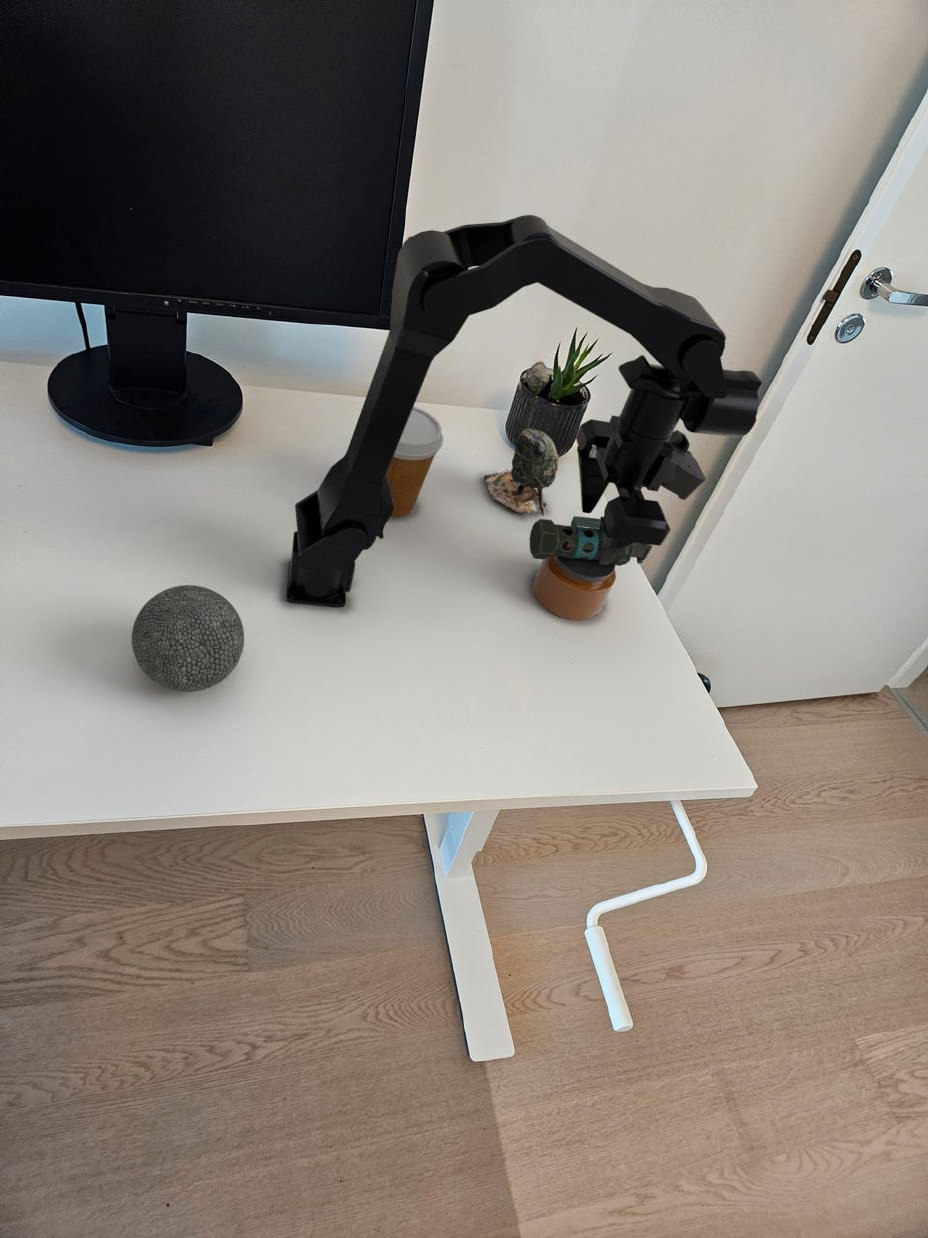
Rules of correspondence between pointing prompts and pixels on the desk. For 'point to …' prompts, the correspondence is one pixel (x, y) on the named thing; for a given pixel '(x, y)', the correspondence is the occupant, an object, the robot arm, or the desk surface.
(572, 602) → the jar
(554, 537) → the stun grenade
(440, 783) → the desk surface
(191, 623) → the decorative ball
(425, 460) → the disposable coffee cup
